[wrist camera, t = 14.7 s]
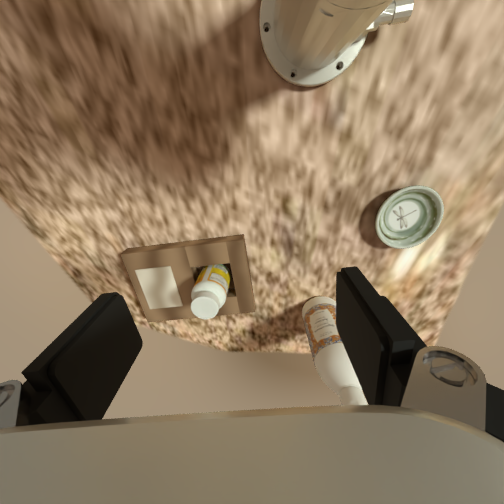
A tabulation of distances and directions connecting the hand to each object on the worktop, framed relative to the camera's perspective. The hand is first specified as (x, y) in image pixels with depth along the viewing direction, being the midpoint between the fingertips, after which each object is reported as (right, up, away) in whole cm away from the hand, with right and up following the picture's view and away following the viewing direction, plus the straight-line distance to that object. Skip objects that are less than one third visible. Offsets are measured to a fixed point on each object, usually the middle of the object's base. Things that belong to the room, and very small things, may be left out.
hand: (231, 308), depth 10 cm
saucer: (+24, +8, +27) cm, 37 cm away
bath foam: (+14, -9, +35) cm, 39 cm away
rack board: (-9, -2, +32) cm, 34 cm away
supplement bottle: (-6, -1, +32) cm, 33 cm away
